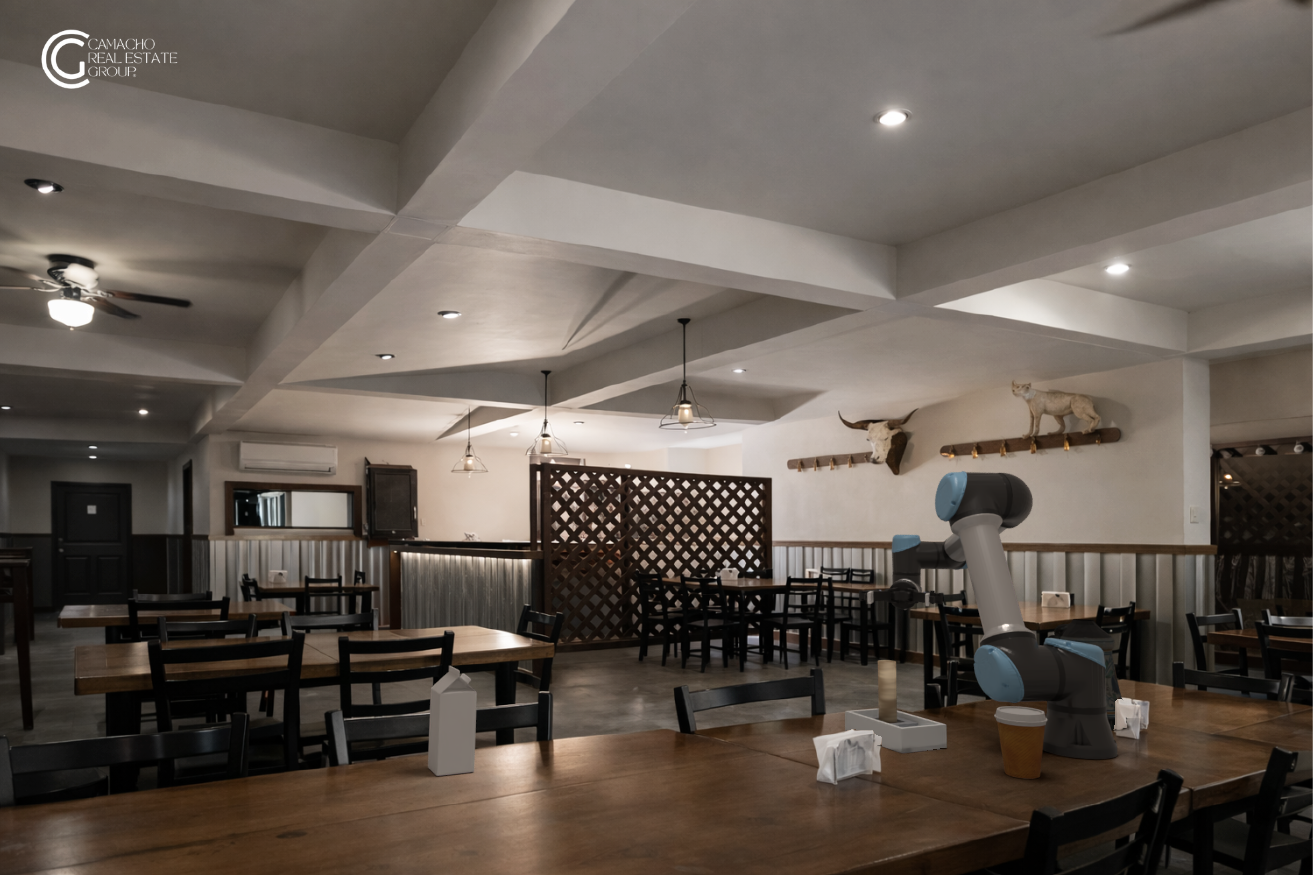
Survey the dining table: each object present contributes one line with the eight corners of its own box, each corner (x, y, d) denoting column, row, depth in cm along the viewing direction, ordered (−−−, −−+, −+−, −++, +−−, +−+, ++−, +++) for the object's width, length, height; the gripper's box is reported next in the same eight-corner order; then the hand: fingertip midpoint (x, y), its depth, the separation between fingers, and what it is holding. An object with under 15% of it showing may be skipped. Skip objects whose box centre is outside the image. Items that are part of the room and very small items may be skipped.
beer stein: (1126, 734, 211) (1122, 625, 213) (1037, 724, 221) (1033, 620, 223) (1130, 721, 225) (1126, 619, 228) (1046, 712, 235) (1043, 615, 237)
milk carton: (436, 777, 167) (440, 671, 169) (427, 767, 173) (431, 666, 175) (474, 772, 170) (477, 669, 172) (464, 763, 177) (467, 664, 178)
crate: (946, 748, 194) (946, 724, 195) (901, 753, 189) (901, 728, 190) (887, 729, 212) (887, 707, 213) (845, 733, 208) (844, 710, 208)
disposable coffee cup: (1057, 781, 169) (1055, 715, 170) (1006, 780, 169) (1004, 714, 170) (1037, 768, 178) (1035, 706, 180) (988, 767, 179) (987, 705, 180)
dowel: (901, 735, 202) (899, 661, 204) (886, 736, 200) (885, 662, 202) (889, 731, 206) (888, 659, 207) (875, 732, 204) (874, 660, 206)
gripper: (954, 610, 234) (952, 617, 214) (856, 606, 243) (845, 612, 223) (953, 581, 235) (951, 585, 215) (855, 578, 243) (845, 582, 223)
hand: (897, 599), depth 219 cm, fingers open, 13 cm apart
